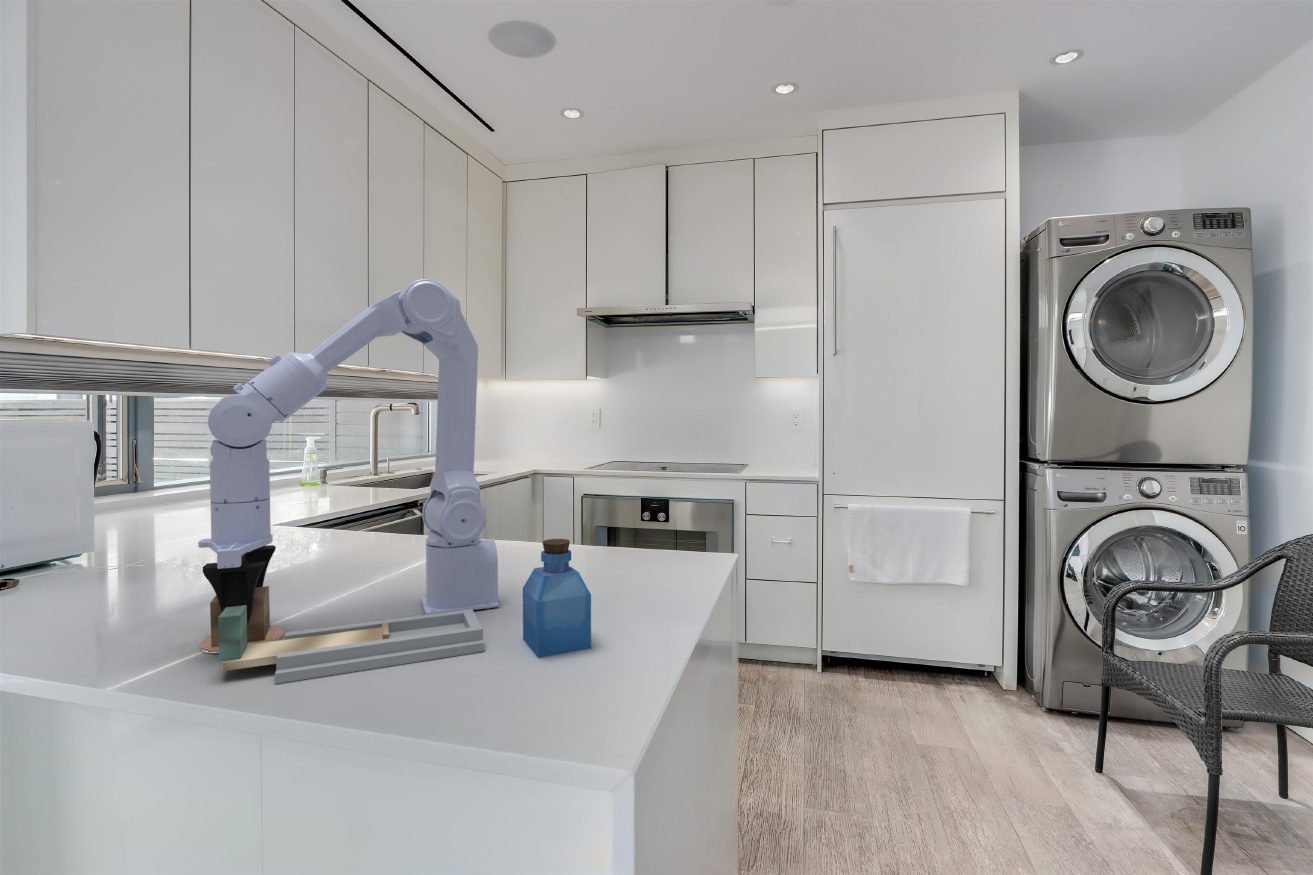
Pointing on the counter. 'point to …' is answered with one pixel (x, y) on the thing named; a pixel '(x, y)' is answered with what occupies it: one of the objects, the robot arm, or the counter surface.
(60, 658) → the counter surface
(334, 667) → the lane board
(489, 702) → the counter surface
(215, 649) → the coaster
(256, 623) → the walnut block
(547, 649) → the perfume bottle
